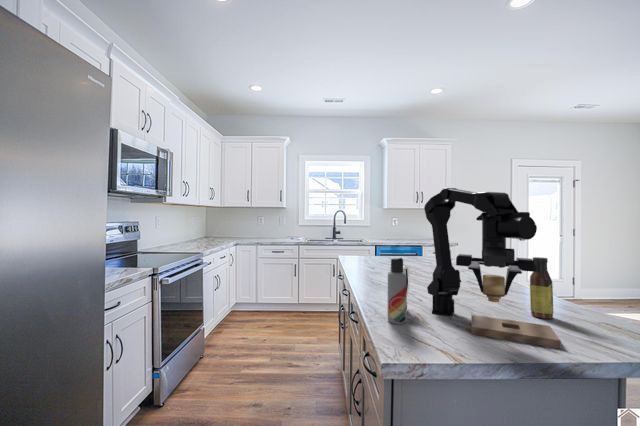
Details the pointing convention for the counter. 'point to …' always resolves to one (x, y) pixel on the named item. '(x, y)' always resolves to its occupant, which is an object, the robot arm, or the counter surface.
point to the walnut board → (515, 331)
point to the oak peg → (494, 287)
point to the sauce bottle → (541, 290)
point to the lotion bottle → (397, 292)
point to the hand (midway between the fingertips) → (493, 293)
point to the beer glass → (406, 270)
